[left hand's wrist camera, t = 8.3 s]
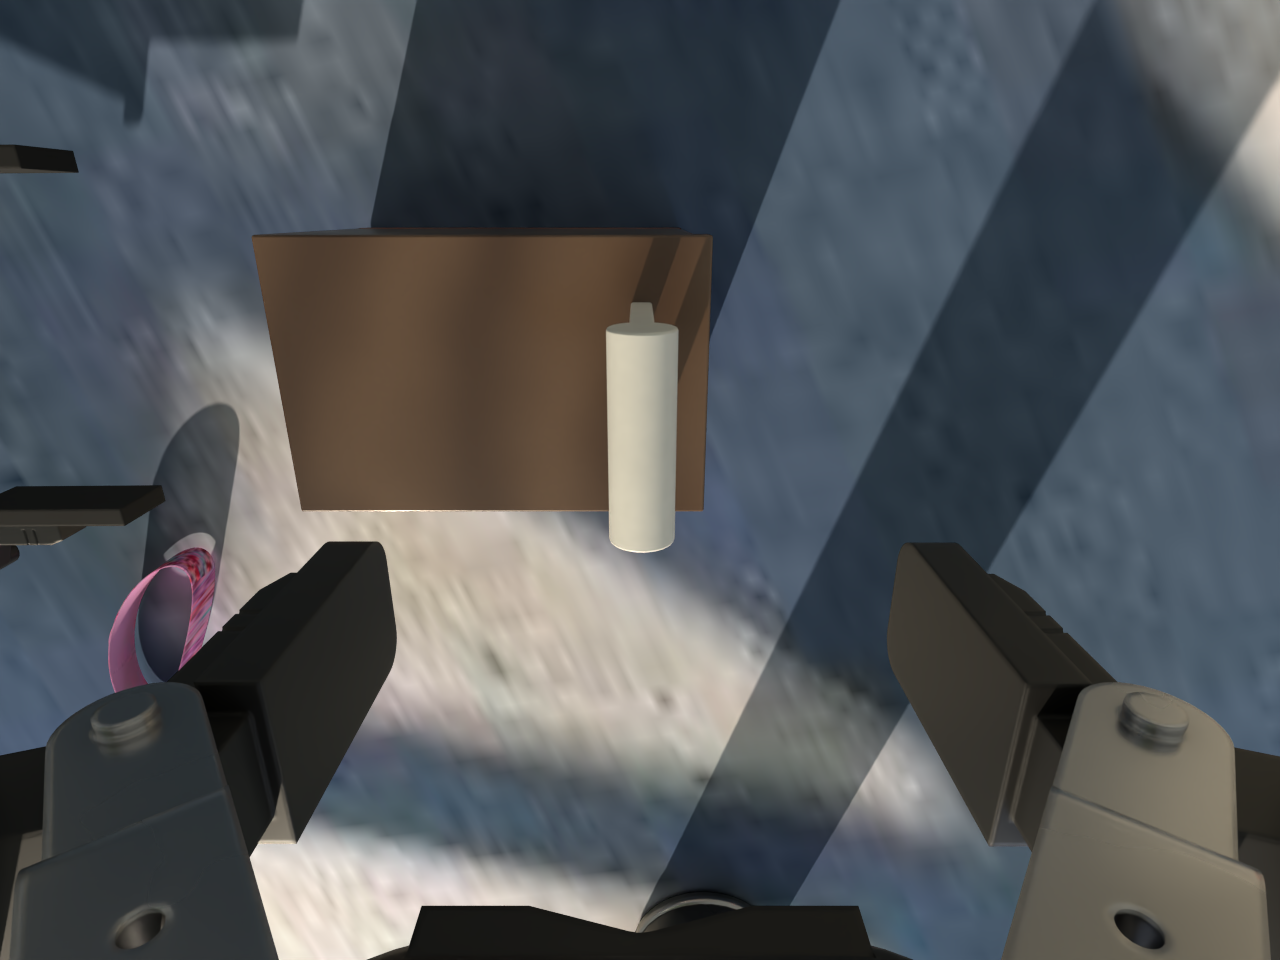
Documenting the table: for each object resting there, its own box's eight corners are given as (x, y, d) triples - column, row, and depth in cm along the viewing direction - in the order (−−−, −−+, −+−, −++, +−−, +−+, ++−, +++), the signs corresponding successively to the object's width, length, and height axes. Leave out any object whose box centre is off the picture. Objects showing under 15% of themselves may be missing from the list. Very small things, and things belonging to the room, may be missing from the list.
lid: (709, 233, 24) (745, 244, 16) (701, 499, 28) (726, 617, 19) (269, 233, 24) (83, 245, 16) (315, 499, 28) (181, 618, 19)
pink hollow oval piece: (152, 529, 38) (125, 548, 36) (225, 555, 39) (203, 574, 37) (119, 684, 42) (93, 709, 40) (187, 705, 42) (165, 730, 40)
